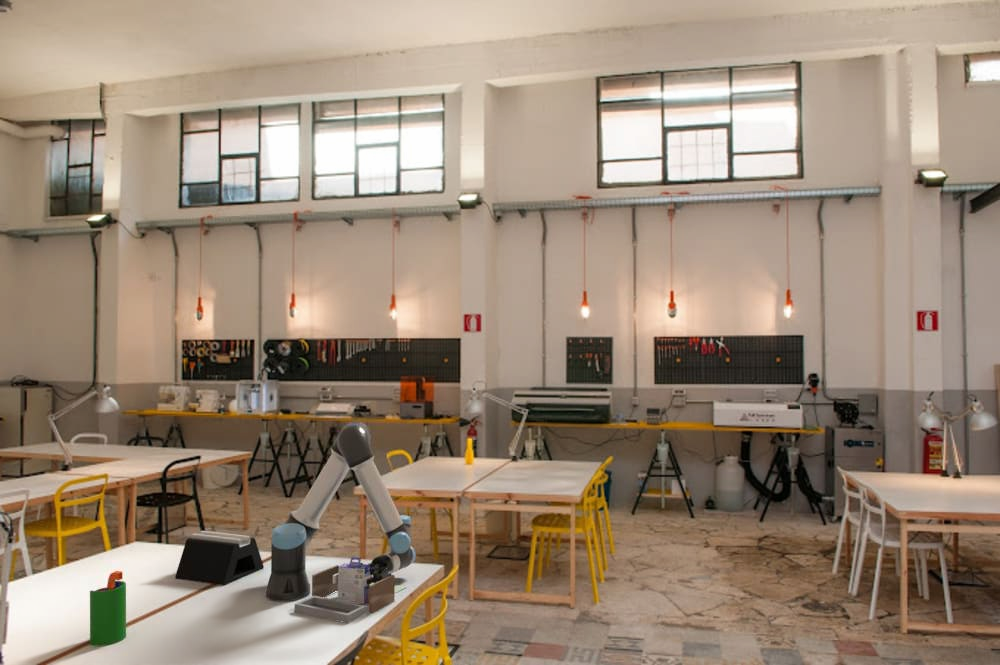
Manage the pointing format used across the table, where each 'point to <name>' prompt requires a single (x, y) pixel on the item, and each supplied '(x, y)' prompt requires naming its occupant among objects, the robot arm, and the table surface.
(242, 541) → the device stand
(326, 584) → the tunnel walls
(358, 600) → the ink cartridge box
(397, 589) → the pad
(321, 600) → the pit trap
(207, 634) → the table surface
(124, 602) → the green tool holder
